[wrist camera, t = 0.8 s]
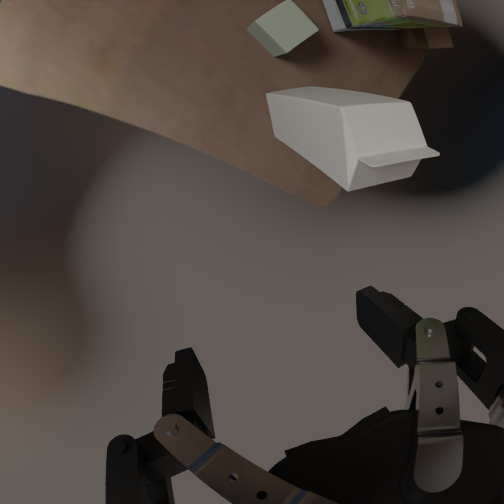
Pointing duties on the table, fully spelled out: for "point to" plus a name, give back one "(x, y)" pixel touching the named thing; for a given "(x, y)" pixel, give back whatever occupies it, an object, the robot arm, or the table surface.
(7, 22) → the table surface
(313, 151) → the milk
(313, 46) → the table surface
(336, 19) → the tea box
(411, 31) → the walnut cube
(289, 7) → the sage block
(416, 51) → the table surface
